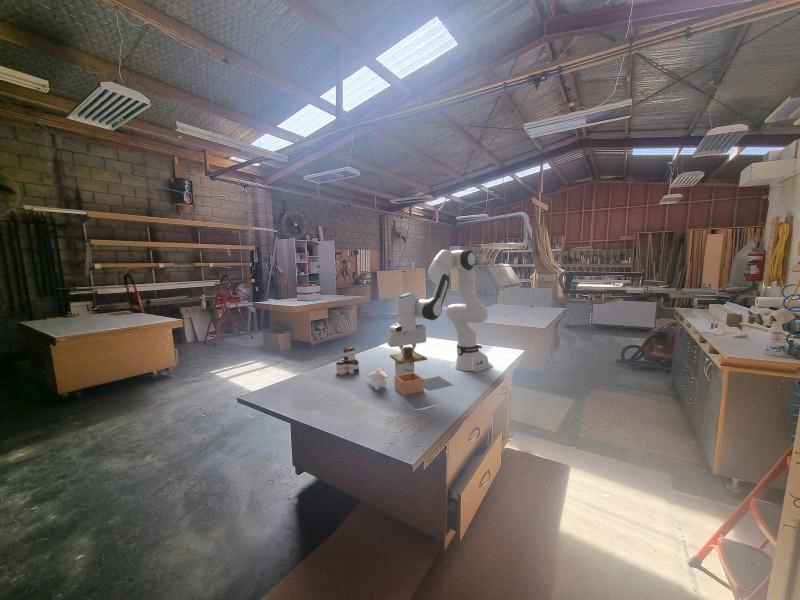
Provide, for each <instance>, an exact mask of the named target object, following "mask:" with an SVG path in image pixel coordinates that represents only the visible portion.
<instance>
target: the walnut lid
mask: <svg viewBox="0 0 800 600" xmlns="http://www.w3.org/2000/svg"><path fill="white" fill-rule="evenodd" d="M403 350H405V354H401V352H400V353H396V354H389V358H391V359H393V360H394V362H395V361H397V362H398V363H400V364H406V363H412V362H414V363H417V362H423V361H427V360H428V357H425V356H424V355H422V354H420V353H418V352H416V351H415V350H414V353H412V346H403Z"/></svg>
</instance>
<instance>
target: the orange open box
mask: <svg viewBox="0 0 800 600" xmlns="http://www.w3.org/2000/svg"><path fill="white" fill-rule="evenodd" d="M423 379H424V378H423V377H422V376H420V375H418V374H417V373H416V372H415V371H414V372H411V373H406V374H401V375H396V374H395V375H394V388H395V389H396V390H397V391H398V392H399V393H400V394H401V395H402V396H407V395H412V394H417V393H421V392H424V391H425V390H424V389H425V388H424V382H423Z"/></svg>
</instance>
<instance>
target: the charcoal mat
mask: <svg viewBox="0 0 800 600" xmlns="http://www.w3.org/2000/svg"><path fill="white" fill-rule="evenodd" d="M423 382H424V389H425V390H426V391H428V392H430V391H434V390H439V389H443V388H449V387H451V386H453V384H452V383H451V382H449V381H447V380H446V379H445V378H442V377H441V376H438V375H437V376H433V377H427V378H423Z"/></svg>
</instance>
